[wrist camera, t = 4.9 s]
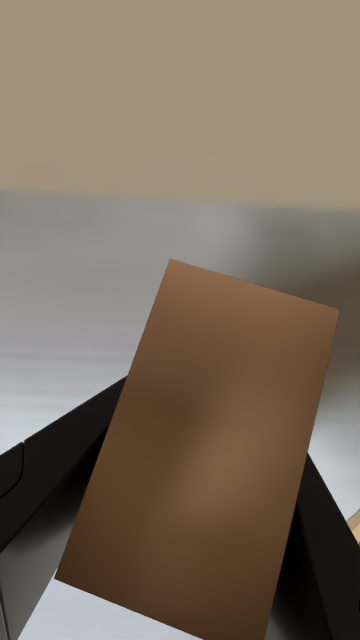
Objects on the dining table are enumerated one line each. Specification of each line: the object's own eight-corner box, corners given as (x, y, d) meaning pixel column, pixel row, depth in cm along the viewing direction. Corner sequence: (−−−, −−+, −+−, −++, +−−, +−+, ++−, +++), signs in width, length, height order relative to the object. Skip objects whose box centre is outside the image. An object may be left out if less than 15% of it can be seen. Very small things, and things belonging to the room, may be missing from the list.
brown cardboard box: (212, 495, 15) (259, 662, 5) (138, 467, 15) (53, 578, 6) (249, 365, 16) (340, 309, 7) (180, 343, 17) (170, 258, 7)
